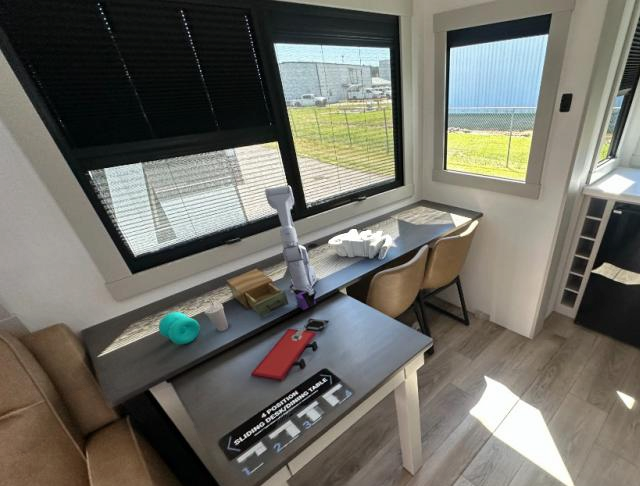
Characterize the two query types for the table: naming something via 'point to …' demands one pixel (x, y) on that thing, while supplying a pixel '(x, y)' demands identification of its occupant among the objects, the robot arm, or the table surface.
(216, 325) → the smoothie
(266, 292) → the drawer
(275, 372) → the red board with handle
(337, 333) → the table surface
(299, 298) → the purple box
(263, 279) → the cabinet
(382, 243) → the wavy white extrusion
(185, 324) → the turquoise spool
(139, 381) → the table surface
